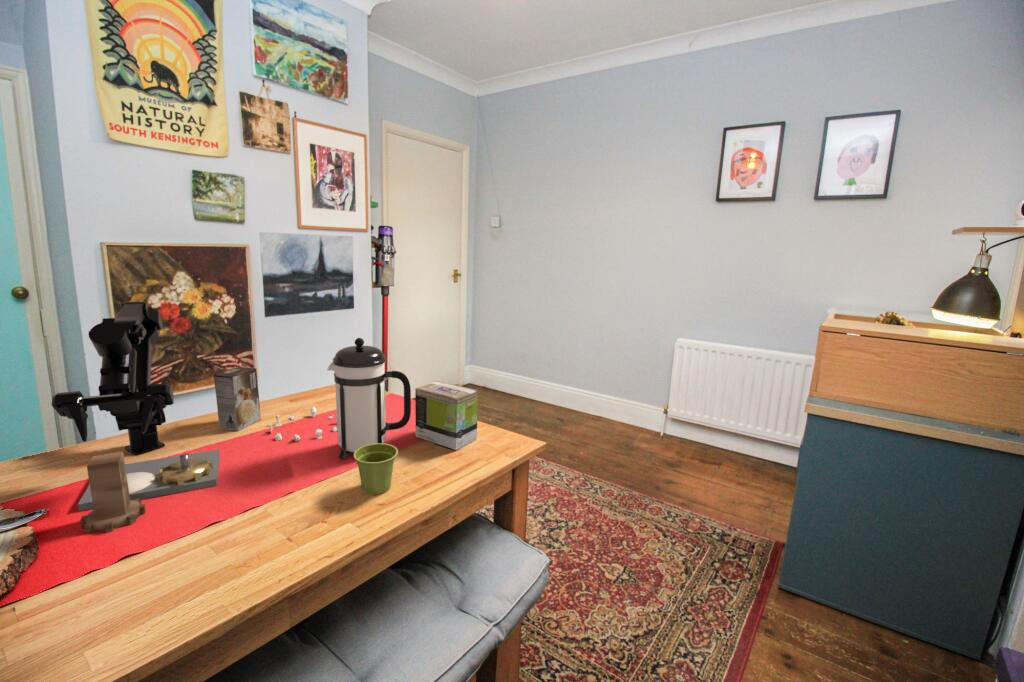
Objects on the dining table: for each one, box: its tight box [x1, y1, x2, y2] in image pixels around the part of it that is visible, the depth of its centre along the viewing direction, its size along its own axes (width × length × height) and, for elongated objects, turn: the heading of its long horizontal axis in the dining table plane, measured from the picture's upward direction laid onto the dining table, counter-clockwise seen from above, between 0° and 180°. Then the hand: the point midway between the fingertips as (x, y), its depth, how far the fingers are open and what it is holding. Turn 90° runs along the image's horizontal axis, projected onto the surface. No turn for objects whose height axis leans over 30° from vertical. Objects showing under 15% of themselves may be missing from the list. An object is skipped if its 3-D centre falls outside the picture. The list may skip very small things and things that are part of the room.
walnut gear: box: [80, 451, 147, 534], centre depth 88 cm, size 9×9×12 cm
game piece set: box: [269, 406, 337, 442], centre depth 134 cm, size 19×20×4 cm
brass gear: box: [157, 453, 213, 486], centre depth 103 cm, size 10×10×4 cm
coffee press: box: [326, 337, 412, 460], centre depth 120 cm, size 17×16×30 cm
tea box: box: [414, 380, 479, 451], centre depth 130 cm, size 15×10×15 cm, turn 58°
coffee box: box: [213, 366, 262, 432], centre depth 133 cm, size 9×6×16 cm
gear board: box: [77, 449, 221, 512], centre depth 104 cm, size 16×23×2 cm
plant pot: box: [353, 442, 399, 495], centre depth 103 cm, size 9×9×9 cm
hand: (114, 437), depth 94 cm, fingers open, 9 cm apart
